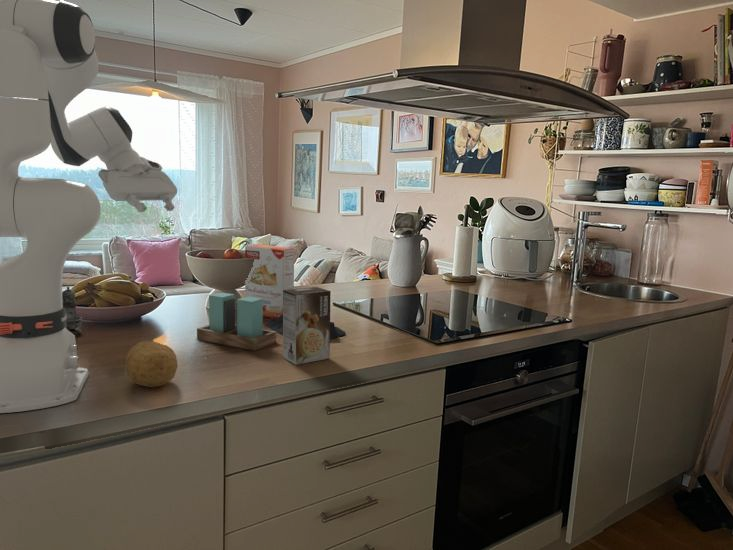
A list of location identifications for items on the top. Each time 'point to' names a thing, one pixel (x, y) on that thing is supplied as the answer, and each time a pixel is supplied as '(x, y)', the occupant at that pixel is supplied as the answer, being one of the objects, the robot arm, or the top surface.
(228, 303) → the tall teal pillar
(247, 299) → the turquoise rectangular block
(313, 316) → the grey cardboard box
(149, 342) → the potato
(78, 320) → the figurine
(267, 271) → the cracker box
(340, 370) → the top surface
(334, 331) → the dark slate chunk
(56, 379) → the robot arm
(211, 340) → the wooden compartment tray
